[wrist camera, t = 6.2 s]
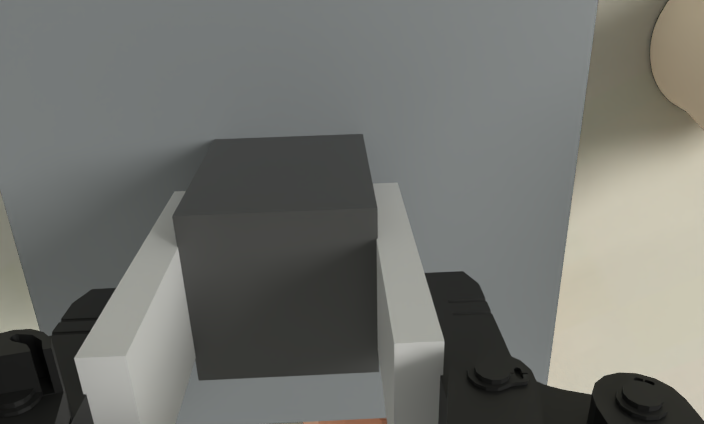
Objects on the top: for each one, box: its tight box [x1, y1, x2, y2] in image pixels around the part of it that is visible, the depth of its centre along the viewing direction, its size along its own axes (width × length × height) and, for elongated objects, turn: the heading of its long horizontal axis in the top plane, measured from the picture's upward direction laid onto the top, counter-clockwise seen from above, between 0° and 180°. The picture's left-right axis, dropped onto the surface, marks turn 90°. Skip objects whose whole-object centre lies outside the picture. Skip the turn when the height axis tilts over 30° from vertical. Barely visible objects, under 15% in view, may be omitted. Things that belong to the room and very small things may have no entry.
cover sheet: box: [0, 0, 598, 424], centre depth 15 cm, size 16×16×6 cm
